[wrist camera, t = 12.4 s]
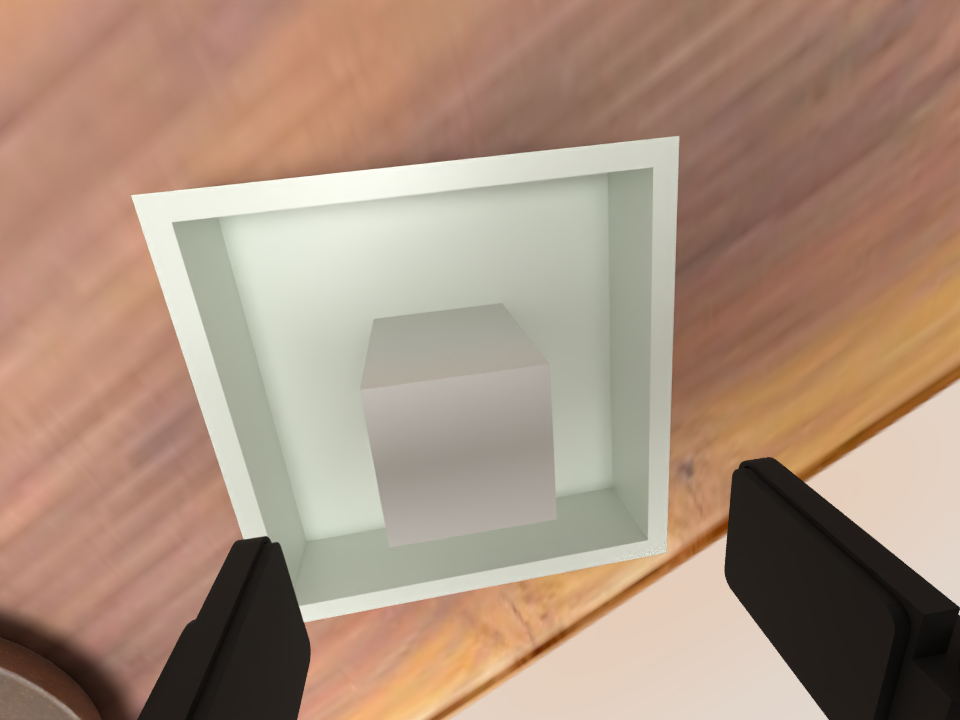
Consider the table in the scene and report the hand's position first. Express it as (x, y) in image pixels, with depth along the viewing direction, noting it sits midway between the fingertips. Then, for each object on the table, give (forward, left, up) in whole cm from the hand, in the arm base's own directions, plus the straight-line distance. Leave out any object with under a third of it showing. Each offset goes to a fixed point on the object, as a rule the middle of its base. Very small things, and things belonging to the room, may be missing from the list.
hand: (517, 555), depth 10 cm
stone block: (+1, 0, -11) cm, 11 cm away
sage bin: (+1, 0, -12) cm, 12 cm away
